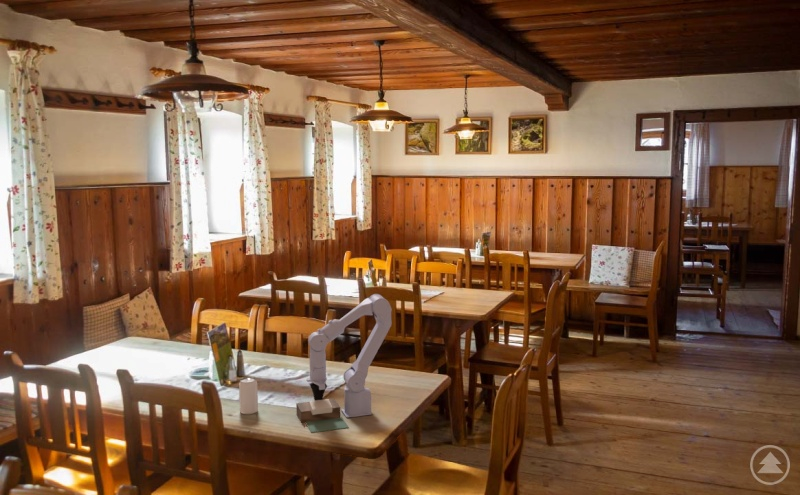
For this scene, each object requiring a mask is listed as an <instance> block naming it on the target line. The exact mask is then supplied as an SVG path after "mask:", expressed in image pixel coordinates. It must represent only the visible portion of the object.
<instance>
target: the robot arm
mask: <svg viewBox="0 0 800 495" xmlns="http://www.w3.org/2000/svg"><path fill="white" fill-rule="evenodd" d="M392 310H393V309H392V306H391V304H390V301H388V300H387V299H386V298H385V297H383V296H382V295H381V294H379V293H374V294H372V295H370V296H369V297H367V298H365V299H363V301H361V302H360V303H359V304H357V306H355V307H354V308H352V309H351V310H350V311H349V312H348V313H346V314H345V315H343V317H341V318H340V319H338V318H337V319H336V318H334V319H330V320H328V322H327V324H325V325H324V326H322V327H321V328H318V329H316V331H314V332H311V334H310V335H309V336H308V339H307V342H308V345H309V354H308V355H309V378H306V382H308V383H309V386H310V388H311V390H312V395H313V401H315V400H323V398H324V394H325V392H326V389H327V387H328V385H327V384H326V383H327V358H326V356H327V353H326V348H327V346H328V343H330V342H333V341H334V340H335V339H336V338H337V337H339V336H340V335H342V334H344V332H345V329H346V327H347V326H349V325H351V324H352V323H354V322H355V321H357V320H359V319H360V318H362V317H363V316H374V319H375V322H376V323H375V325H374V327H373V328H372V330H371V333H370V334H369V336H368V337H367V340H366V341H365V343H364V346H363V347H362V348H361V351H360V353H359V354H358V355H357V356H358V357H357V358H356V360H355V361H353V362H352V363H351V366H349V368H347V369H346V370H345V371H344V374H343V380H344V382H345V383H346V384H345V386H344V389H343V393H344V394H343V395H344V396H343V397H344V401H343V402H344V404H343V405H344V408H340V412H342V414H344V416H345V418H355V417H363V416H370V415H373V412H372V393H371V389H370V388H369V387H365V386H366V379H367V376H368V373H369V371H368V370H369V368H370V365H372V362H373V360H374V358H375V356H376V355H377V353H378V350H379V349H380V347H381V346H382V344H383V342H384V340H385V338H386V337H387V335H388V332H389V331H390V328H391V327H392V324H393V323H392Z"/></svg>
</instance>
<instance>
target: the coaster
mask: <svg viewBox="0 0 800 495" xmlns="http://www.w3.org/2000/svg"><path fill="white" fill-rule="evenodd" d="M308 402H309V407H310V410H311V412H312V415H315V414H323V413H331V412H332V405H331V403H330V401H329V398H326V399H323V400H309V401H308Z"/></svg>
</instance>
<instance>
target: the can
mask: <svg viewBox="0 0 800 495" xmlns="http://www.w3.org/2000/svg"><path fill="white" fill-rule="evenodd" d="M238 389H239V390H238V394H239V395H238V398H239V412H240V414H242V415H246V416H247V415H253V414H256V413H257V412H258V411H259V401H258V400H259V399H258V398H259V396H258V395H259V394H258V391H259V390H258V382H257V379H256V378H255V377H253V376H252V377H243V378H241V379H240V380H239V383H238Z"/></svg>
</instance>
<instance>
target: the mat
mask: <svg viewBox="0 0 800 495" xmlns="http://www.w3.org/2000/svg"><path fill="white" fill-rule="evenodd" d="M305 424H306V426H307V428H308V430H309V432H310V433H311V434H313V433H319V432H327V431H328V432H329V431H335V430H337V431H338V430H343V429H345V430H346V429H349V428H350V427H349V425H348V424H347V422H346V421H345V420H344V418H343V417H341V416H340V418H332V419H324V420H316V421H308V422H305Z"/></svg>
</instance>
